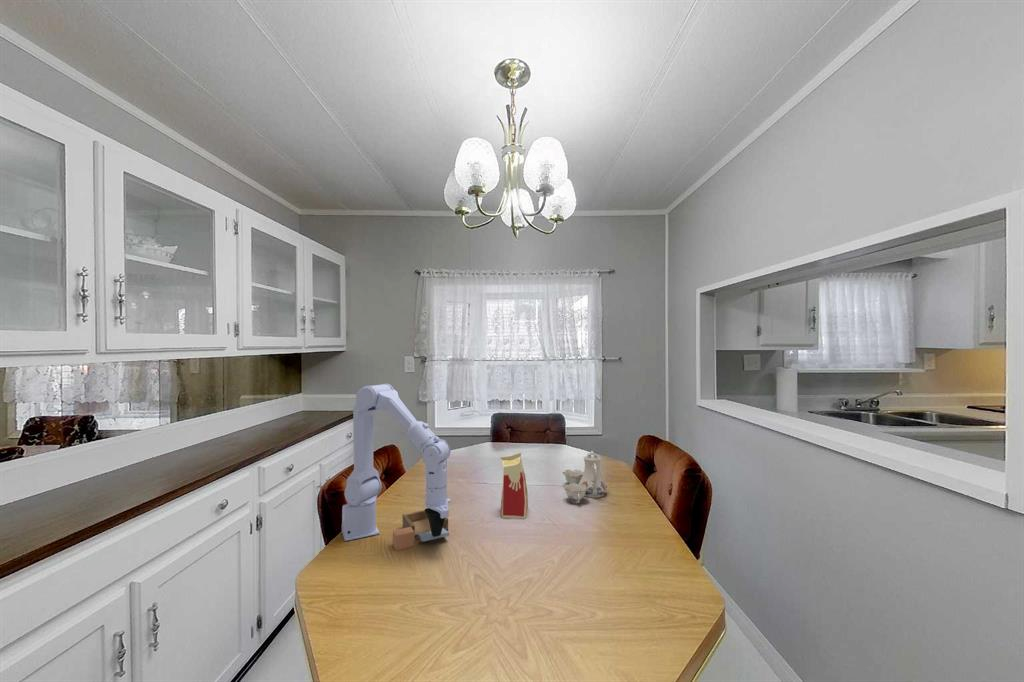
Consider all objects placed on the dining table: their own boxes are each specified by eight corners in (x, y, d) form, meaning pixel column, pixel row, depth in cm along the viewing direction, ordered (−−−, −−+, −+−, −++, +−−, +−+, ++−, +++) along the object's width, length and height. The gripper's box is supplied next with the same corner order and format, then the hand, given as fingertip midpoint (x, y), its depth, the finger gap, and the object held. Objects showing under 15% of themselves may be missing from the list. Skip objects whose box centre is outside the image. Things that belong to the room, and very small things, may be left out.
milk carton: (528, 508, 138) (527, 449, 139) (526, 519, 129) (526, 456, 130) (501, 507, 139) (501, 448, 140) (498, 518, 130) (498, 455, 130)
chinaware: (560, 485, 167) (555, 445, 167) (600, 481, 166) (595, 441, 167) (567, 512, 139) (562, 463, 139) (616, 507, 138) (610, 459, 139)
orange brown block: (395, 550, 109) (395, 535, 109) (392, 545, 112) (392, 530, 112) (414, 546, 111) (414, 531, 111) (410, 541, 115) (410, 526, 115)
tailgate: (418, 538, 114) (422, 542, 110) (418, 534, 114) (422, 538, 110) (443, 532, 118) (449, 536, 114) (443, 528, 118) (449, 532, 114)
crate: (412, 542, 113) (412, 528, 113) (402, 527, 123) (402, 514, 123) (449, 534, 118) (449, 520, 119) (437, 520, 128) (437, 507, 128)
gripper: (459, 491, 108) (459, 542, 107) (441, 476, 121) (441, 522, 120) (433, 495, 104) (433, 548, 104) (418, 480, 117) (418, 527, 117)
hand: (436, 535), depth 112 cm, fingers closed
